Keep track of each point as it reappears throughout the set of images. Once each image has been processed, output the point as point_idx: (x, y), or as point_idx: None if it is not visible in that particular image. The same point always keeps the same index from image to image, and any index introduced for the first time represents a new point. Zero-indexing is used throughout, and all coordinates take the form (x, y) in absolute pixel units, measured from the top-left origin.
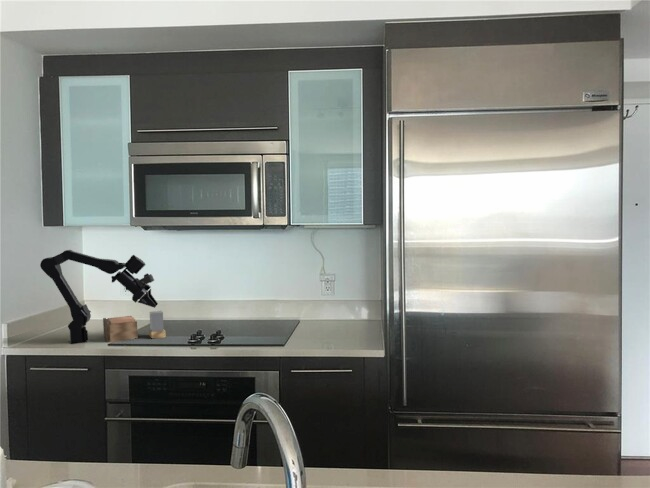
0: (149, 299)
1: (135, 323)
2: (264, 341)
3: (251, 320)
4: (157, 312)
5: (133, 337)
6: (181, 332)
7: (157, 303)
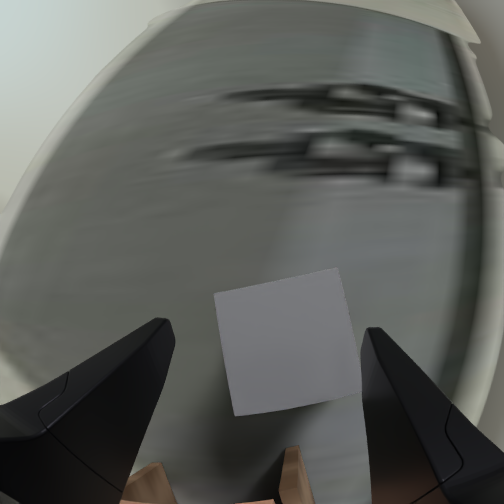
0: (471, 436)
1: (299, 490)
2: (419, 39)
3: (131, 61)
4: (322, 326)
5: (303, 466)
6: (205, 225)
7: (166, 321)
